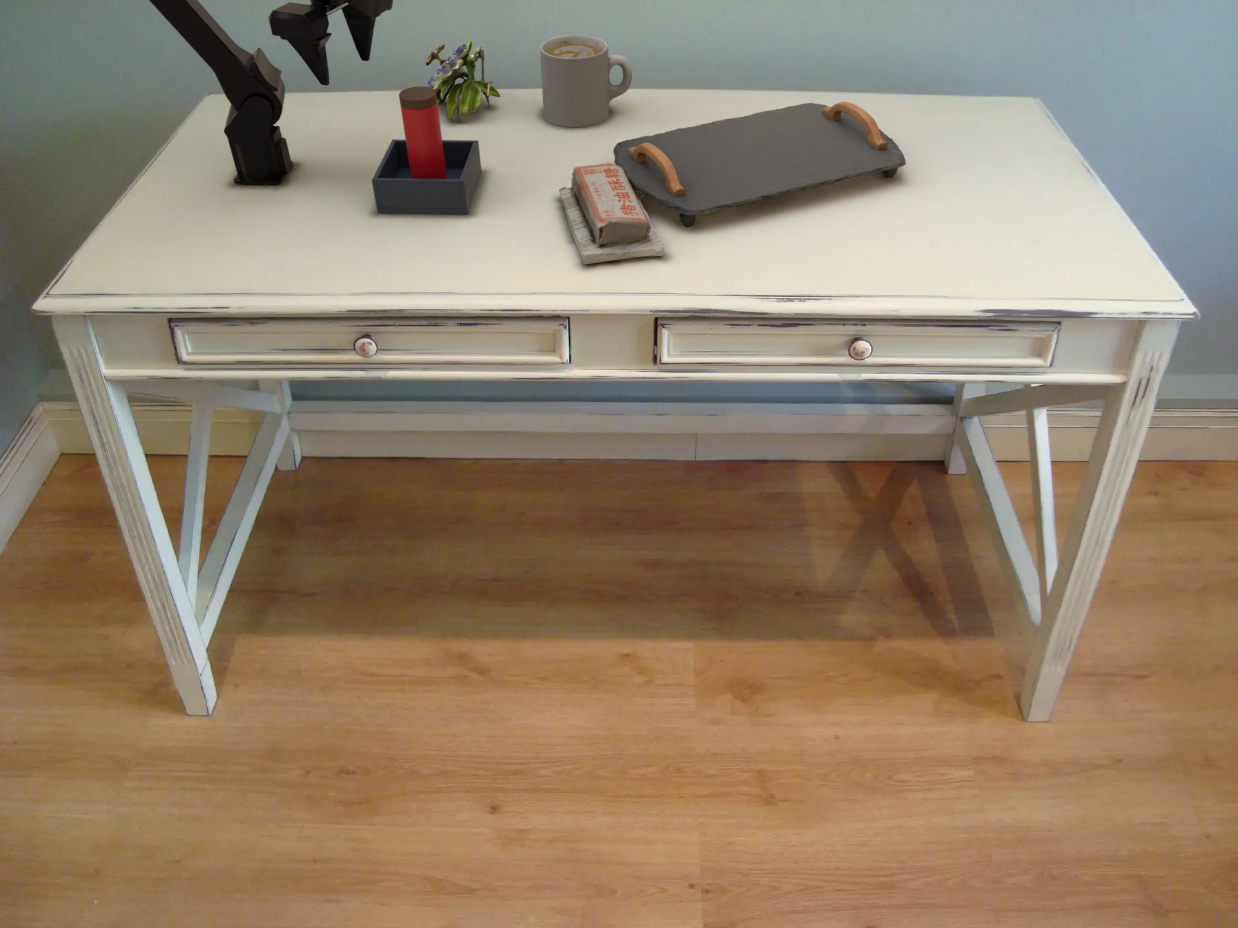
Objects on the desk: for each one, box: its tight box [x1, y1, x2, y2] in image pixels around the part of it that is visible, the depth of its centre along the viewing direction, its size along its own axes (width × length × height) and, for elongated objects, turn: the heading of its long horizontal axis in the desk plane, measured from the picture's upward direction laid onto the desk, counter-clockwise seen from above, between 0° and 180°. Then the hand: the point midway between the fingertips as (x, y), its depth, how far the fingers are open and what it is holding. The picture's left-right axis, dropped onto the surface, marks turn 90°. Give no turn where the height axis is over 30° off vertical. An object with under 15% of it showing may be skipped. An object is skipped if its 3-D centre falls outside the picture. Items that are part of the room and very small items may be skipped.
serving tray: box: [613, 101, 907, 228], centre depth 138 cm, size 39×23×6 cm, turn 115°
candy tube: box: [398, 85, 447, 179], centre depth 131 cm, size 5×5×12 cm
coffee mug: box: [539, 34, 633, 128], centre depth 152 cm, size 13×10×10 cm
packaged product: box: [558, 162, 665, 265], centre depth 127 cm, size 18×5×10 cm
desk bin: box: [371, 138, 482, 215], centre depth 135 cm, size 12×12×5 cm
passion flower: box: [425, 40, 501, 123], centre depth 155 cm, size 11×11×12 cm
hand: (345, 72), depth 134 cm, fingers open, 9 cm apart
